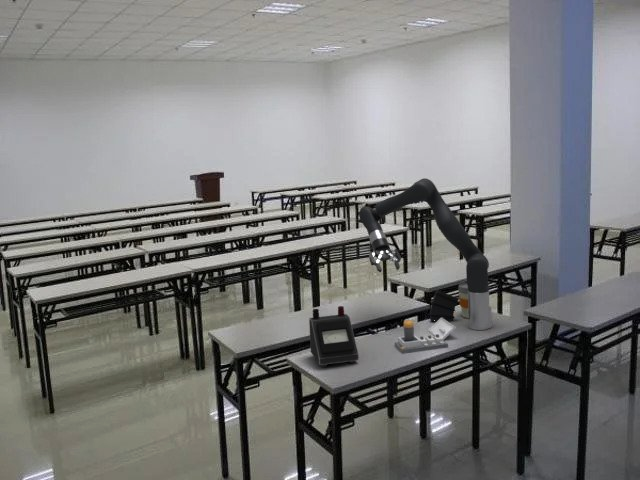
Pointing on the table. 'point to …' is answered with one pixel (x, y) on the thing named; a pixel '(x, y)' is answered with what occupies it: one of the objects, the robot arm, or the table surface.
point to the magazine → (442, 306)
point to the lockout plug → (408, 331)
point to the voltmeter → (332, 338)
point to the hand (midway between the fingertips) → (389, 270)
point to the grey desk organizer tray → (420, 344)
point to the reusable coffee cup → (464, 299)
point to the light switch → (442, 328)
